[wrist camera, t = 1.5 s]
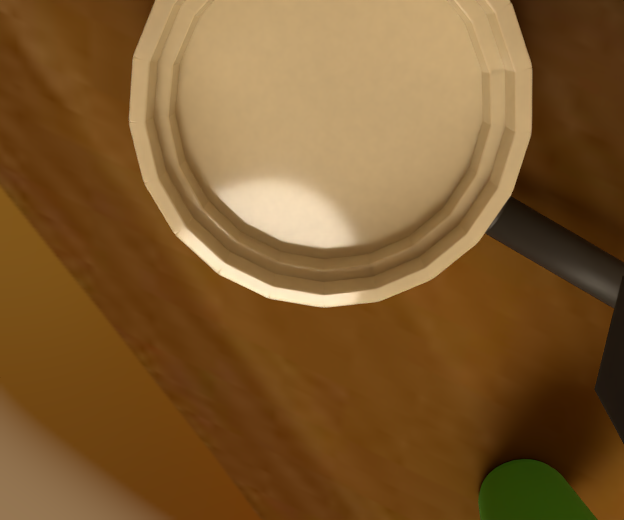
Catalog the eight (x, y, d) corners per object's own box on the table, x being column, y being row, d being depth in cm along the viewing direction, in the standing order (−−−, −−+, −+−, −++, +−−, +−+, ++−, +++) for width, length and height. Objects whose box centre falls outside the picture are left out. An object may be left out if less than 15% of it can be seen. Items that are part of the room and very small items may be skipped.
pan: (247, -174, 23) (236, -204, 20) (581, 38, 26) (618, 41, 23) (99, 184, 29) (72, 204, 26) (388, 326, 31) (396, 361, 28)
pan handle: (484, 179, 27) (510, 204, 24) (711, 306, 30) (768, 348, 26) (460, 215, 28) (481, 245, 24) (683, 337, 30) (735, 382, 27)
